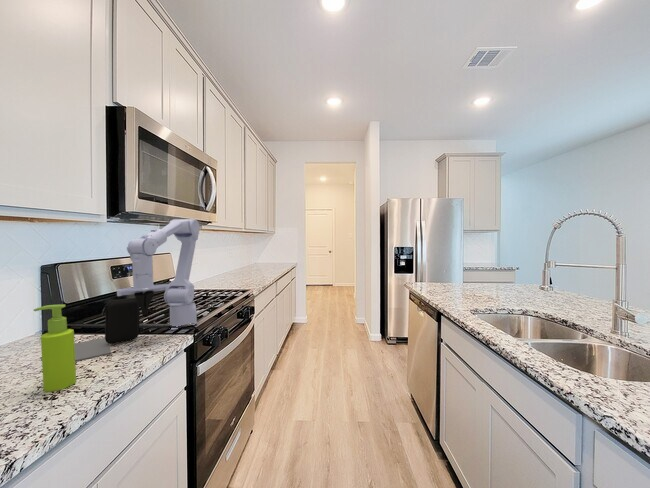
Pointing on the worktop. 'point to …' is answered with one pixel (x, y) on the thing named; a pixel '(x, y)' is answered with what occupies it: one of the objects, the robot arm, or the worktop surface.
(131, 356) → the worktop surface
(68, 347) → the soap dispenser
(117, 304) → the black upright slab
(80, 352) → the mat
